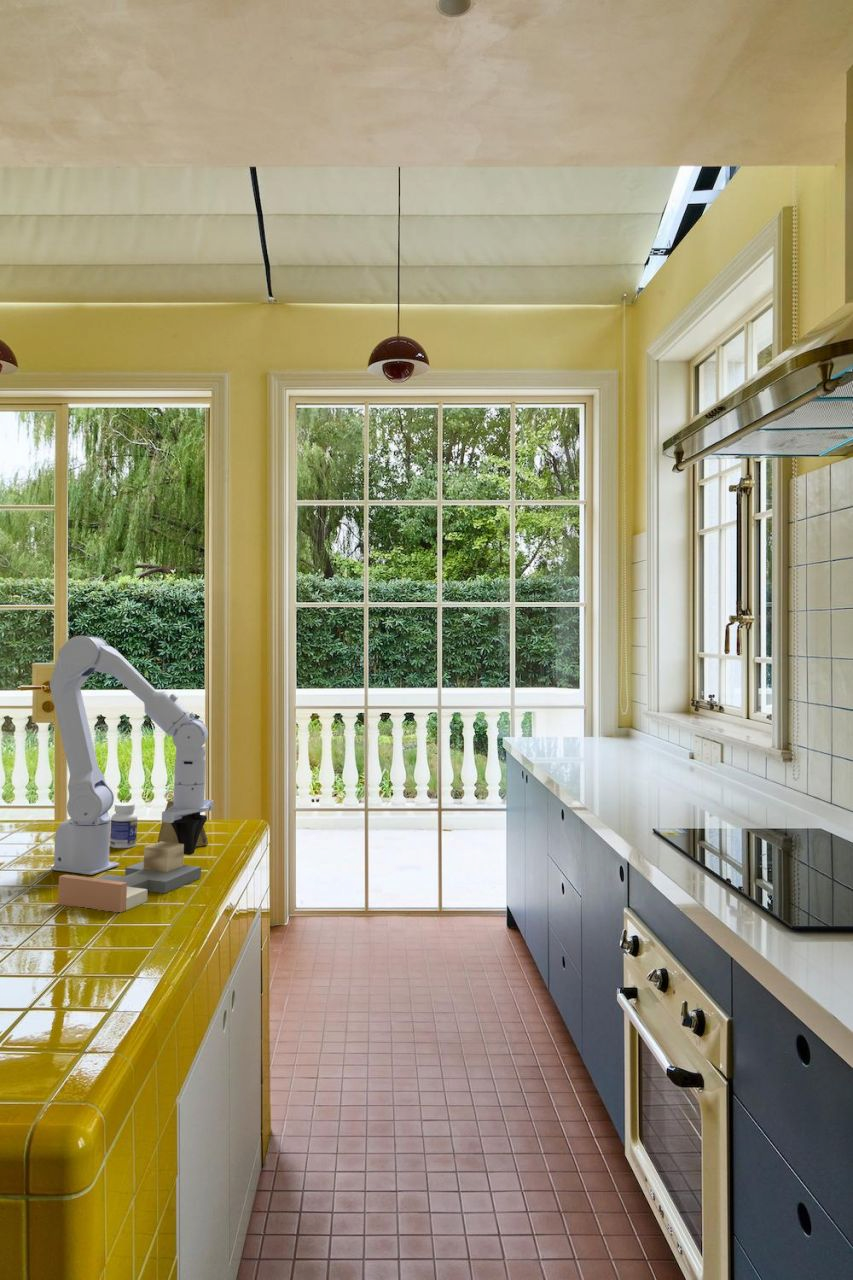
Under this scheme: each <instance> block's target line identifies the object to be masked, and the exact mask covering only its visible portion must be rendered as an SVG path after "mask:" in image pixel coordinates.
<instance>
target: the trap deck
mask: <svg viewBox="0 0 853 1280" xmlns="http://www.w3.org/2000/svg"><path fill="white" fill-rule="evenodd" d="M201 877H202V867H201V866H195V865H188V864H183V866H181V867H179V868H176V869H174V870H171V871H169V872H163V871H155V870H147V869H144V860H142V861H141V862H138V863H135V864H131V865H130V866H127V867H126V866H125V871H124V876H122V875H115V874H108V873H107V874H104V875H102V876H98V877H87V876H81V875H73V874H66V873H65V874H61V875H60V876H58V891H57V892H58V897H57V905H59V906H60V905H61V906H68V907H74V906H75V907H74V908H80V907H85V908H84V909H87V908H93V909H92V910H94V909H98V910H97V911H101V910H105V911H104V912H108V911H113V912H112V913H115V912H122V913H124V912H126V911H128V910H130V909H133V908H135V907H137V906H140V905H141V904H142V905H143V904H144V903H146V902H148V892H152V893H159V894H167V893H169V892H172V891H174V890H177V889H178V888H181V887H183V886H186V885H188V884H190V883H192V882H195V881H197V880H199V879H201ZM76 906H78V907H76ZM125 910H126V911H125ZM123 911H124V912H123Z"/></svg>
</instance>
